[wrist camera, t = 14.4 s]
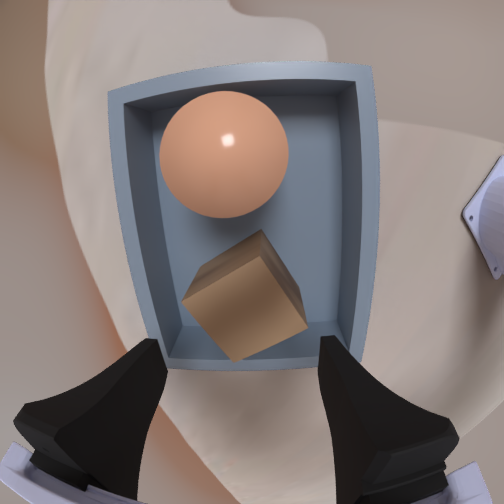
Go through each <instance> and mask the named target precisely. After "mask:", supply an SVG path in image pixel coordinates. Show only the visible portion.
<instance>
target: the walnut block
mask: <svg viewBox="0 0 504 504" xmlns="http://www.w3.org/2000/svg"><path fill="white" fill-rule="evenodd" d="M181 303H182V304H183V305H184V306H185V307H186V309H187V310H188V311H189V312H190V314H191V315H192V316H193V317H194V318H195V320H196V321H197V322H198V323H199V324H200V325H201V327H202V328H203V329H204V330H205V331H206V332H207V334H208V335H209V336H210V337H211V338H212V339H213V341H214V342H215V343H216V344H217V345H218V346H219V347H220V348H221V350H222V351H223V352H224V353H225V354H226V355H227V356H228V357H229V358H230V359H231V361H232V362H233V363H235V362H237V361H240V360H242V359H244V358H246V357H249V356H251V355H253V354H255V353H258V352H260V351H262V350H264V349H266V348H269V347H271V346H273V345H275V344H277V343H279V342H281V341H283V340H285V339H287V338H290V337H292V336H294V335H296V334H298V333H300V332H302V331H304V330H306V329H308V324H307V320H306V315H305V311H304V306H303V301H302V297H301V293H300V288H299V286H298V285H297V283H296V281H295V280H294V278H293V277H292V275H291V274H290V272H289V271H288V269H287V267H286V266H285V264H284V263H283V261H282V260H281V258H280V257H279V255H278V254H277V252H276V250H275V249H274V247H273V246H272V244H271V243H270V241H269V240H268V238H267V237H266V235H265V234H264V232H263V231H262V229H260V230H259V231H257V232H255V233H254V234H252V235H250V236H249V237H247V238H245V239H244V240H242V241H241V242H239V243H237V244H236V245H234V246H232V247H231V248H229V249H228V250H226V251H224V252H223V253H221V254H219V255H218V256H216V257H215V258H213V259H211V260H210V261H208V262H207V263H205V264H203V265H202V266H200V268H199V270H198V272H197V273H196V275H195V277H194V279H193V281H192V282H191V284H190V286H189V288H188V290H187V292H186V293H185V295H184V297H183V299H182V301H181Z"/></svg>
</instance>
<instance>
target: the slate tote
mask: <svg viewBox="0 0 504 504" xmlns="http://www.w3.org/2000/svg"><path fill="white" fill-rule="evenodd" d="M219 91H233V92H239V93H243V94H246V95H249V96H251V97H253V98H255V99H257V100H259V101H260V102H262V103H263V104H265V105H266V106H267V107H268V108H269V109H271V111H272V112H273V113H274V114H275V115H276V116H277V118H278V119H279V121H280V123H281V124H282V127H283V129H284V131H285V134H286V137H287V142H288V151H289V157H288V165H287V169H286V173H285V175H284V178H283V180H282V182H281V184H280V186H279V187H278V189H277V190H276V192H275V193H274V194H273V196H272V197H271V198H270V199H269V200H268V201H267V202H265V203H264V204H263V205H261V206H260V207H259V208H257V209H255V210H253V211H251V212H249V213H247V214H244V215H241V216H237V217H231V218H214V217H209V216H204V215H201V214H199V213H196V212H194V211H192V210H190V209H189V208H187V207H186V206H184V205H183V204H182V203H181V202H180V201H179V200H177V199H176V197H175V196H174V195H173V194H172V193H171V191H170V190H169V188H168V186H167V185H166V182H165V180H164V178H163V175H162V172H161V167H160V157H159V154H160V145H161V140H162V137H163V134H164V131H165V129H166V127H167V125H168V123H169V122H170V120H171V119H172V117H173V116H174V115H175V114H176V113H177V112H178V110H180V109H181V108H182V107H183V106H184V105H185V104H187V103H188V102H190V101H191V100H193V99H195V98H197V97H199V96H202V95H205V94H208V93H212V92H219ZM108 119H109V136H110V148H111V159H112V169H113V177H114V185H115V192H116V199H117V206H118V212H119V218H120V224H121V229H122V234H123V240H124V245H125V249H126V254H127V259H128V263H129V267H130V272H131V276H132V280H133V284H134V288H135V292H136V296H137V299H138V303H139V307H140V310H141V314H142V317H143V320H144V324H145V327H146V330H147V333H148V337H149V339H158V342H159V346H160V349H161V352H162V355H163V358H164V361H165V364H166V367H167V368H171V369H187V370H213V371H258V370H284V369H300V368H313V367H318V361H319V350H320V338H321V336H329V335H335V336H336V337H337V338H338V339H339V341H340V342H341V343H342V344H343V345H344V347H345V348H346V349H347V350H348V351H349V352H350V354H351V355H352V356H353V357H354V358H355V359H356V360H357V361H358V362H361V360H362V355H363V350H364V345H365V340H366V334H367V328H368V322H369V316H370V309H371V303H372V295H373V287H374V279H375V269H376V258H377V246H378V230H379V206H380V159H379V136H378V121H377V109H376V100H375V90H374V82H373V75H372V68H371V66H368V65H359V64H349V63H335V62H316V61H278V62H258V63H244V64H234V65H225V66H217V67H210V68H203V69H197V70H191V71H186V72H181V73H176V74H171V75H166V76H162V77H158V78H154V79H150V80H146V81H142V82H138V83H135V84H131V85H128V86H124V87H121V88H118V89H115V90H111V91H108ZM260 229H262V231H263V232H264V234H265V235H266V237H267V238H268V240H269V241H270V243H271V244H272V246H273V247H274V249H275V250H276V252H277V254H278V255H279V257H280V258H281V260H282V261H283V263H284V264H285V266H286V267H287V269H288V271H289V272H290V274H291V275H292V277H293V278H294V280H295V281H296V283H297V285H298V286H299V288H300V293H301V297H302V301H303V306H304V311H305V315H306V320H307V324H308V329H306V330H304V331H302V332H300V333H298V334H296V335H294V336H292V337H290V338H287V339H285V340H283V341H281V342H279V343H277V344H275V345H273V346H271V347H269V348H266V349H264V350H262V351H260V352H258V353H255V354H253V355H251V356H249V357H246V358H244V359H242V360H240V361H237V362H235V363H233V362H232V361H231V359H230V358H229V357H228V356H227V355H226V354H225V353H224V352H223V351H222V350H221V348H220V347H219V346H218V345H217V344H216V343H215V342H214V341H213V339H212V338H211V337H210V336H209V335H208V334H207V332H206V331H205V330H204V329H203V328H202V327H201V325H200V324H199V323H198V322H197V321H196V320H195V318H194V317H193V316H192V315H191V314H190V312H189V311H188V310H187V309H186V307H185V306H184V305H183V304H182V303H181V301H182V299H183V297H184V295H185V293H186V292H187V290H188V288H189V286H190V284H191V282H192V281H193V279H194V277H195V275H196V273H197V272H198V270H199V268H200V266H202V265H203V264H205V263H207V262H208V261H210V260H211V259H213V258H215V257H216V256H218V255H219V254H221V253H223V252H224V251H226V250H228V249H229V248H231V247H232V246H234V245H236V244H237V243H239V242H241V241H242V240H244V239H245V238H247V237H249V236H250V235H252V234H254V233H255V232H257V231H259V230H260Z"/></svg>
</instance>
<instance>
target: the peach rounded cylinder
mask: <svg viewBox="0 0 504 504" xmlns="http://www.w3.org/2000/svg"><path fill="white" fill-rule="evenodd" d="M159 157H160V167H161V172H162V175H163V178H164V180H165V182H166V185H167V186H168V188H169V190H170V191H171V193H172V194H173V195H174V196H175V197H176V199H177V200H179V201H180V202H181V203H182V204H183V205H184V206H186V207H187V208H189V209H190V210H192V211H194V212H196V213H199V214H201V215H204V216H209V217H214V218H231V217H237V216H241V215H244V214H247V213H249V212H251V211H253V210H255V209H257V208H259V207H260V206H261V205H263V204H264V203H265V202H267V201H268V200H269V199H270V198H271V197H272V196H273V194H274V193H275V192H276V190H277V189H278V187H279V186H280V184H281V182H282V180H283V178H284V175H285V173H286V169H287V165H288V157H289V151H288V142H287V137H286V134H285V131H284V129H283V127H282V124H281V123H280V121H279V119H278V118H277V116H276V115H275V114H274V113H273V112H272V111H271V109H269V108H268V107H267V106H266V105H265V104H263V103H262V102H260V101H259V100H257V99H255V98H253V97H251V96H249V95H246V94H243V93H239V92H233V91H219V92H212V93H208V94H205V95H202V96H199V97H197V98H195V99H193V100H191V101H190V102H188V103H187V104H185V105H184V106H183V107H182V108H181V109H180V110H178V112H177V113H176V114H175V115H174V116H173V117H172V119H171V120H170V122H169V123H168V125H167V127H166V129H165V131H164V134H163V137H162V140H161V145H160V154H159Z"/></svg>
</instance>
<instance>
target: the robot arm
mask: <svg viewBox="0 0 504 504" xmlns="http://www.w3.org/2000/svg"><path fill="white" fill-rule="evenodd" d="M470 216H471V218H470V220H469V217H470ZM463 217H464V219H465V221H466V223H467V225H468V226H469V228H470V230H471V232H472V234H473V236H474V238H475V239H476V241H477V243H478V245H479V247H480V249H481V251H482V254H483V256H484V258H485V260H486V262H487V264H488V266H489V269H490V271H491V273H492V276H493V278H494V279H495V280H497V279H499V278H500V276H501V275H502V274H503V275H504V155H501V157H500V158H499V160H498V161H497V163H496V165H495V166H494V168H493V169H492V171H491V172H490V174H489V175H488V177H487V178H486V180H485V181H484V183H483V184H482V185H481V187H480V188H479V190H478V191H477V192H476V194H475V195H474V197H473V198H472V199H471V201H470V202H469V203H468V205H467V206H466V207H465V209H464V210H463ZM167 374H168V370H167V367H166V364H165V361H164V358H163V355H162V352H161V349H160V346H159V342H158V339H149V338H146V339H144V340H143V341H141V342H140V343H139V344H137V345H136V346H135V347H134V348H132V349H131V350H130V351H129V352H127V353H126V354H125V355H124V356H122V357H121V358H120V359H119V360H117V361H116V362H115V363H113V364H112V365H111V366H109V367H108V368H106V369H105V370H104V371H102V372H101V373H100V374H98V375H97V376H95V377H93V378H92V379H90V380H88V381H87V382H85V383H83V384H81V385H79V386H77V387H75V388H73V389H71V390H68V391H66V392H64V393H62V394H59V395H56V396H53V397H50V398H47V399H44V400H40V401H35V402H31V403H26V404H25V405H24V406H23V408H22V409H21V410H20V412H19V413H18V414H17V416H16V417H15V419H14V420H13V422H14V425H15V427H16V428H17V430H18V431H19V432H20V434H21V435H22V436H23V437H24V438H25V439H26V440H27V441H28V442H29V443H30V445H32V447H33V448H34V449H35V451H34V453H32V452H30V451H29V450H28V449H26V448H24V447H23V446H21V445H20V444H18V443H16V442H13V443H12V444H11V446H10V448H9V449H8V451H7V453H6V454H5V456H4V458H3V459H2V461H1V463H0V480H1V481H2V482H3V483H4V484H6V485H7V486H8V487H9V488H10V489H12V490H13V491H14V492H16V493H17V494H19V495H20V496H21V497H22V498H24V499H25V500H27V501H28V502H30V503H31V504H146V503H142V502H139V501H137V492H138V479H139V471H140V464H141V459H142V454H143V449H144V444H145V440H146V436H147V432H148V429H149V426H150V423H151V421H152V418H153V416H154V413H155V411H156V408H157V406H158V403H159V401H160V398H161V396H162V393H163V390H164V387H165V383H166V378H167ZM318 377H319V385H320V391H321V395H322V399H323V403H324V407H325V411H326V415H327V419H328V423H329V427H330V432H331V437H332V445H333V454H334V465H335V478H336V504H493V502H492V500H491V497H490V494H489V491H488V490H487V486H486V484H485V481H484V479H483V476H482V474H481V472H480V469H479V467H478V465H477V463H476V461H473V462H471V463H469V464H468V465H465V466H463V467H461V468H459V469H457V470H455V471H453V472H452V473H450V474H448V475H447V476H445V473H444V470H445V469H446V465H445V462H444V460H445V459H446V458H447V457H448V455H449V454H450V453H451V452H452V451H453V450H454V448H455V447H456V446H457V444H458V441H459V436H458V434H457V432H456V430H455V428H454V426H453V424H452V422H451V421H450V419H449V418H446V417H443V416H440V415H437V414H434V413H432V412H429V411H427V410H424V409H422V408H420V407H418V406H416V405H414V404H412V403H410V402H408V401H407V400H405V399H403V398H402V397H400V396H398V395H397V394H395V393H394V392H392V391H391V390H389V389H388V388H387V387H385V386H384V385H383V384H381V383H380V382H379V381H378V380H377V379H375V378H374V377H373V376H372V375H371V374H370V373H369V372H368V371H367V370H366V369H365V368H364V367H363V366H362V365H361V364H360V363H359V362H358V361H357V360H356V359H355V358H354V357H353V356H352V355H351V354H350V352H349V351H348V350H347V349H346V348H345V347H344V345H343V344H342V343H341V342H340V341H339V339H338V338H337V337H336V336H335V335H329V336H321V338H320V350H319V361H318Z"/></svg>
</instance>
